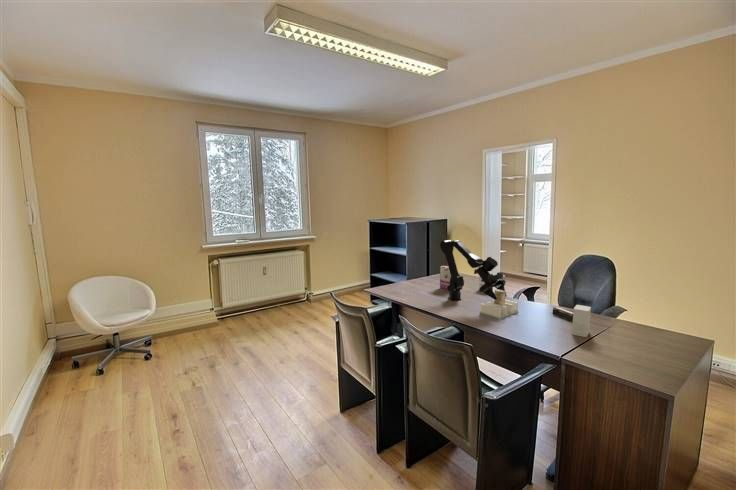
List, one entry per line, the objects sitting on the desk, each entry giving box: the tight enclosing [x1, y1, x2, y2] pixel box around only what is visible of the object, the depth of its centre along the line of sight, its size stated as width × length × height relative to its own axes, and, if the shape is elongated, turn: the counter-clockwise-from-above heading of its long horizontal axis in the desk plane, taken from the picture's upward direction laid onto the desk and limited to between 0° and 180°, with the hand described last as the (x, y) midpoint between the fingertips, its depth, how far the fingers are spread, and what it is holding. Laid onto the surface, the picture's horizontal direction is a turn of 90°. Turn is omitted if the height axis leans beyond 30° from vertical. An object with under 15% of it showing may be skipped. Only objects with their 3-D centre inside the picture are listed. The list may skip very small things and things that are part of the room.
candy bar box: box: [439, 265, 451, 291], centre depth 250 cm, size 11×5×16 cm, turn 43°
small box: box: [571, 304, 592, 338], centre depth 169 cm, size 8×6×13 cm
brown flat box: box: [551, 306, 573, 322], centre depth 193 cm, size 14×25×4 cm, turn 20°
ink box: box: [478, 275, 494, 292], centre depth 247 cm, size 8×5×12 cm, turn 39°
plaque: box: [493, 288, 507, 306], centre depth 200 cm, size 5×3×12 cm, turn 37°
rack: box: [479, 298, 519, 320], centre depth 200 cm, size 13×18×6 cm
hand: (501, 298), depth 199 cm, fingers open, 9 cm apart
